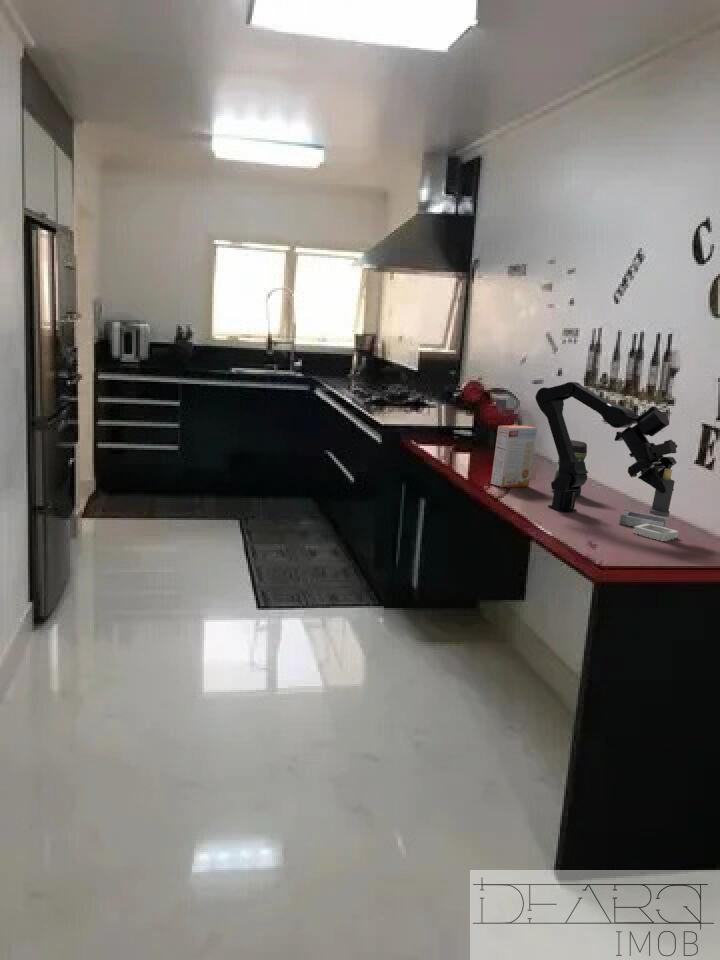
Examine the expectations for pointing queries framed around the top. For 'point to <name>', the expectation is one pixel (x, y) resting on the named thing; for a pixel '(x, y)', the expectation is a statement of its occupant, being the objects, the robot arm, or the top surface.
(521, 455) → the cracker box
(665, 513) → the plug
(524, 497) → the top surface
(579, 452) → the coffee jar
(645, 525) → the socket
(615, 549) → the top surface
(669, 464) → the robot arm
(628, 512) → the grey tray
